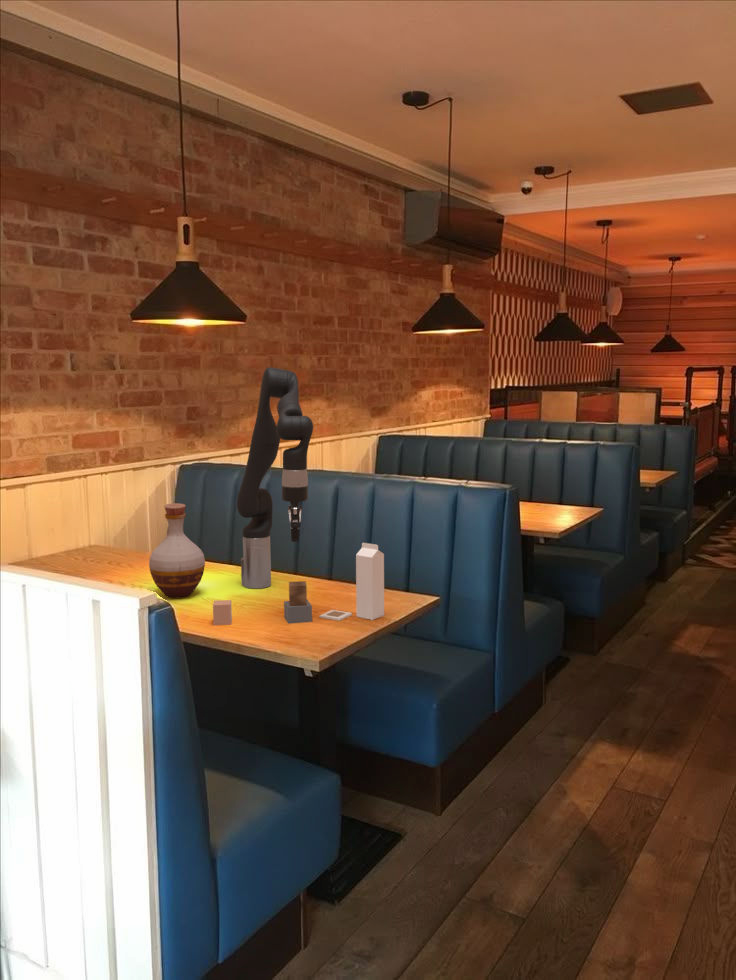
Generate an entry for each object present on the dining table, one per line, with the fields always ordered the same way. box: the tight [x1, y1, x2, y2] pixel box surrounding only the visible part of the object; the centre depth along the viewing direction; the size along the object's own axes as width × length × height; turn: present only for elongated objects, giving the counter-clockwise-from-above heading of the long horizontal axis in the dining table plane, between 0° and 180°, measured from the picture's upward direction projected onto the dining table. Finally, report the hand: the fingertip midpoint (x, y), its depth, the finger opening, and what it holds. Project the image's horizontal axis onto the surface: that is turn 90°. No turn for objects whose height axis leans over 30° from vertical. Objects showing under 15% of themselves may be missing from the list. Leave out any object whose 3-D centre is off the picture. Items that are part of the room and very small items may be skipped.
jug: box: [148, 502, 206, 599], centre depth 272 cm, size 20×18×30 cm
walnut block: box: [288, 580, 308, 606], centre depth 244 cm, size 5×5×6 cm
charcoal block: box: [283, 599, 313, 625], centre depth 245 cm, size 7×7×5 cm
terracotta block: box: [212, 599, 233, 626], centre depth 242 cm, size 5×5×6 cm
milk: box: [355, 542, 385, 621], centre depth 246 cm, size 6×6×22 cm
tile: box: [319, 609, 353, 622], centre depth 248 cm, size 7×7×1 cm
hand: (294, 538), depth 246 cm, fingers open, 8 cm apart
